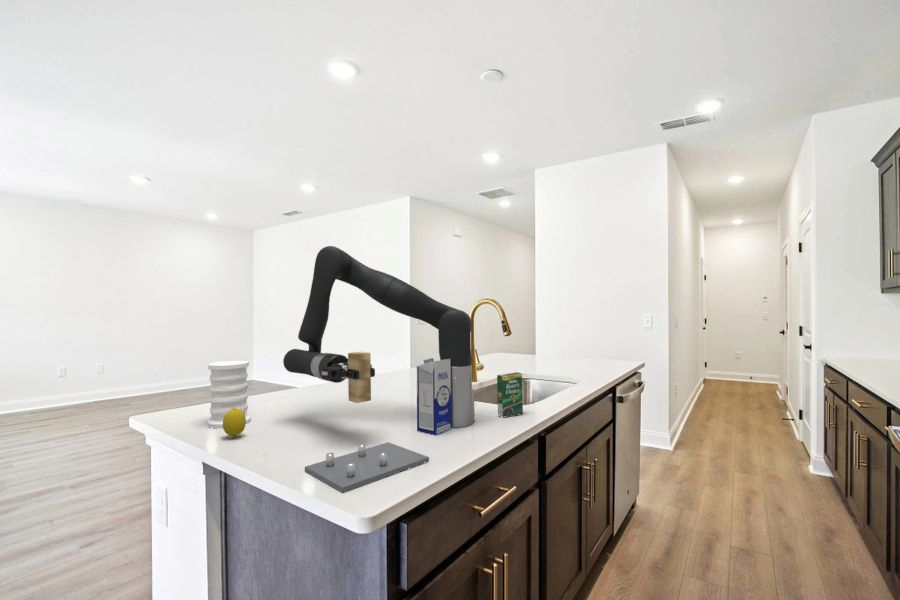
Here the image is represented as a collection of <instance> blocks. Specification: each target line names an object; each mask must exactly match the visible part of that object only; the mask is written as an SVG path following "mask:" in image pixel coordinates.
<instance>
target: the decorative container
mask: <svg viewBox="0 0 900 600" xmlns="http://www.w3.org/2000/svg"><path fill="white" fill-rule="evenodd" d="M207 367H208V369H207V370H210V375H209V381H210V387H209V391H210V397H209V402H210V408H209V414H210V419H208V420H207V421H206V424H207V426H209V427H213V428H212V429H214V428H223V419H224V416H225V414H226V413H227V412H228V411H229V410H231V409H232V408H237V409H240V410H241V411H242V412H243V413H244V414H245V418H246V425H247V424H249V423H251V420H252V418H251V415H249V414H248V408H249V406H248V402H247V400H248V398H249V397H248V396H249V395H248V393H247V389H248V386H249V384H248V383H247V380H248V379H247V378H248V376H249V375H248V372H247V368H248V367H250V361H248V360H235V359H234V360H222V361H214V362H210V363H208V365H207ZM209 427H208V428H209Z"/></svg>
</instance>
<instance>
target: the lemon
mask: <svg viewBox="0 0 900 600" xmlns="http://www.w3.org/2000/svg"><path fill="white" fill-rule="evenodd" d="M246 425H247V424H246V418H245V414H244V413H243V412H242V411H241V410H240V409H237V408H232V409H231V410H229V411H228V412H227V413H226V414H225V416H224V419H223V431H224V433H225V434H227V435H228V436H231V437H232V438H234V439H235V438H236V437H238V435H240V434H241V433H243V432H244V430H245V428H246Z"/></svg>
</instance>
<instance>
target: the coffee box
mask: <svg viewBox="0 0 900 600" xmlns="http://www.w3.org/2000/svg"><path fill="white" fill-rule="evenodd" d="M496 382H497V384H496V385H497V416H498V415H500V416H503V417H504V416H510V417H512V416H511V415H516V416H519V415H518V414H521V415H523V414H524V408H523V405H524V403H523V400H524V399H523V374H522V373H521V372H517V371H516V372H511V373H510V372H509V373H502V374H497V375H496ZM500 416H499V417H500ZM504 418H505V417H504Z"/></svg>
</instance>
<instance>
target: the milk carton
mask: <svg viewBox="0 0 900 600" xmlns="http://www.w3.org/2000/svg"><path fill="white" fill-rule="evenodd" d="M416 429H417V430H416V432H419V431H420V433H423V432H424V434H428V433H429V435H432V434H433V436H437V434H438V435H440V434H442V432H443V433H445V432H444V431H446V432H448V431H450V430H449V429H451V430H452V427H451V368H450V359H445V360H440V359H439V360H434V357H431V358H428V359H423V364H419V365H416ZM447 430H448V431H447ZM439 433H440V434H439Z"/></svg>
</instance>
